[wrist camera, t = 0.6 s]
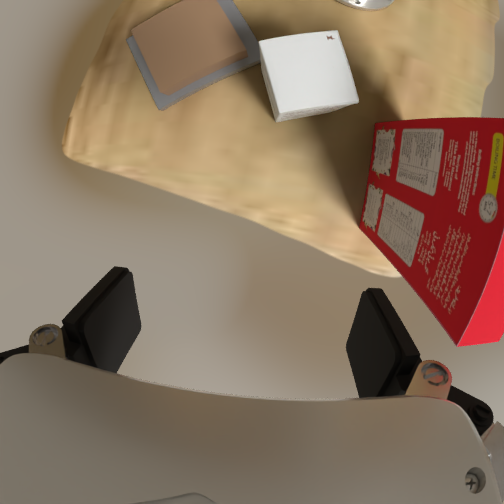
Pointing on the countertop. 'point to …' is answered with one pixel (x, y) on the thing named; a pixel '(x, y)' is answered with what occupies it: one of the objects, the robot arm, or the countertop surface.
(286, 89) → the supplement box
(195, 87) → the pedestal
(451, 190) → the food packaging
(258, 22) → the countertop surface
